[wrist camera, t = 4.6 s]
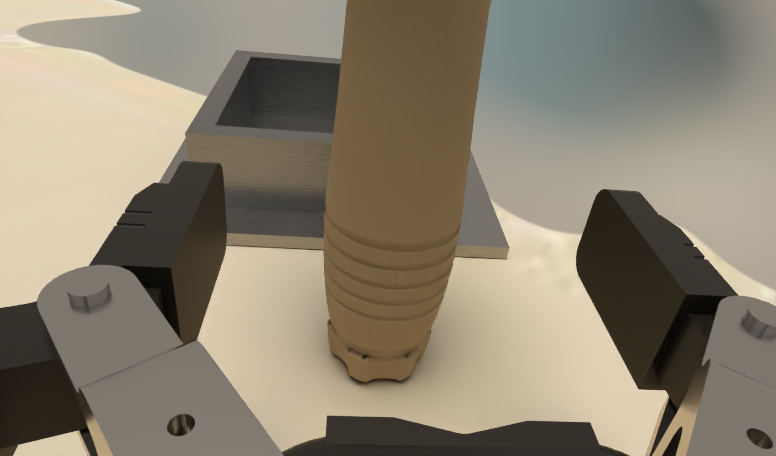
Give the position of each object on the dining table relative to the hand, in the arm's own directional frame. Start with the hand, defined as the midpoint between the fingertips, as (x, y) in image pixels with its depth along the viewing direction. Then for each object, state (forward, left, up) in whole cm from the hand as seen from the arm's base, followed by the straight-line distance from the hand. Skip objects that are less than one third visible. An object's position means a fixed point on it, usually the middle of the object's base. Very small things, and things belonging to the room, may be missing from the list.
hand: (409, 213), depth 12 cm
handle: (0, +4, -8) cm, 9 cm away
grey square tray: (-2, +18, -8) cm, 19 cm away
